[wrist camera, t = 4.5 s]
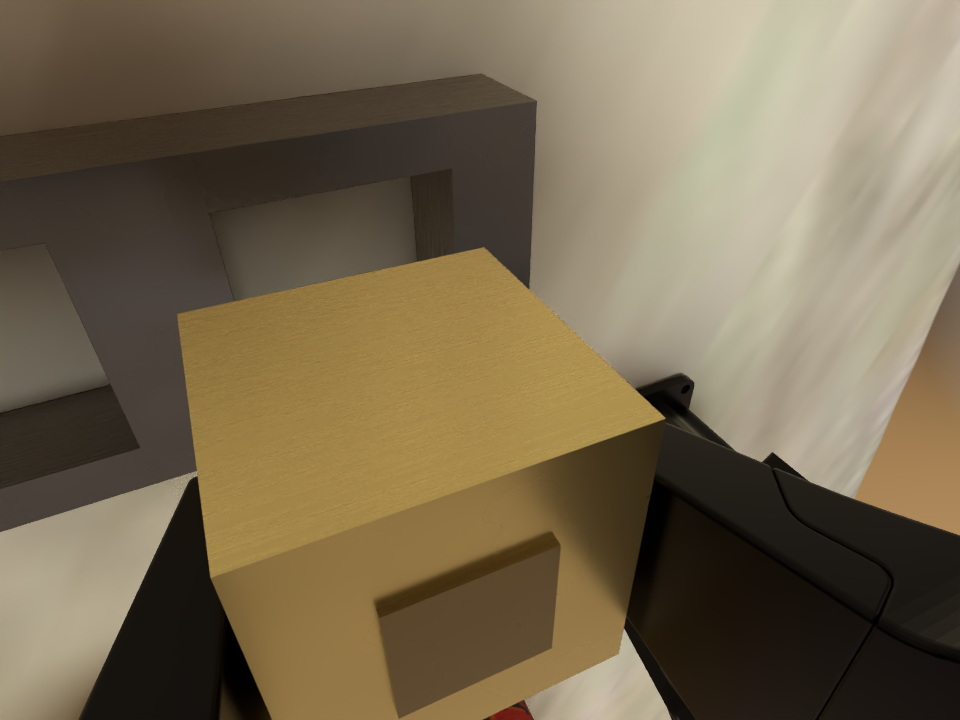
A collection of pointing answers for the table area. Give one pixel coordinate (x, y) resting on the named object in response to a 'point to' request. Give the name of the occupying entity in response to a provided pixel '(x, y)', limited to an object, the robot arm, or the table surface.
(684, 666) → the robot arm
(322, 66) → the table surface
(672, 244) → the table surface
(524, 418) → the nut
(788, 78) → the table surface
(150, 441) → the rail
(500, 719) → the deodorant
